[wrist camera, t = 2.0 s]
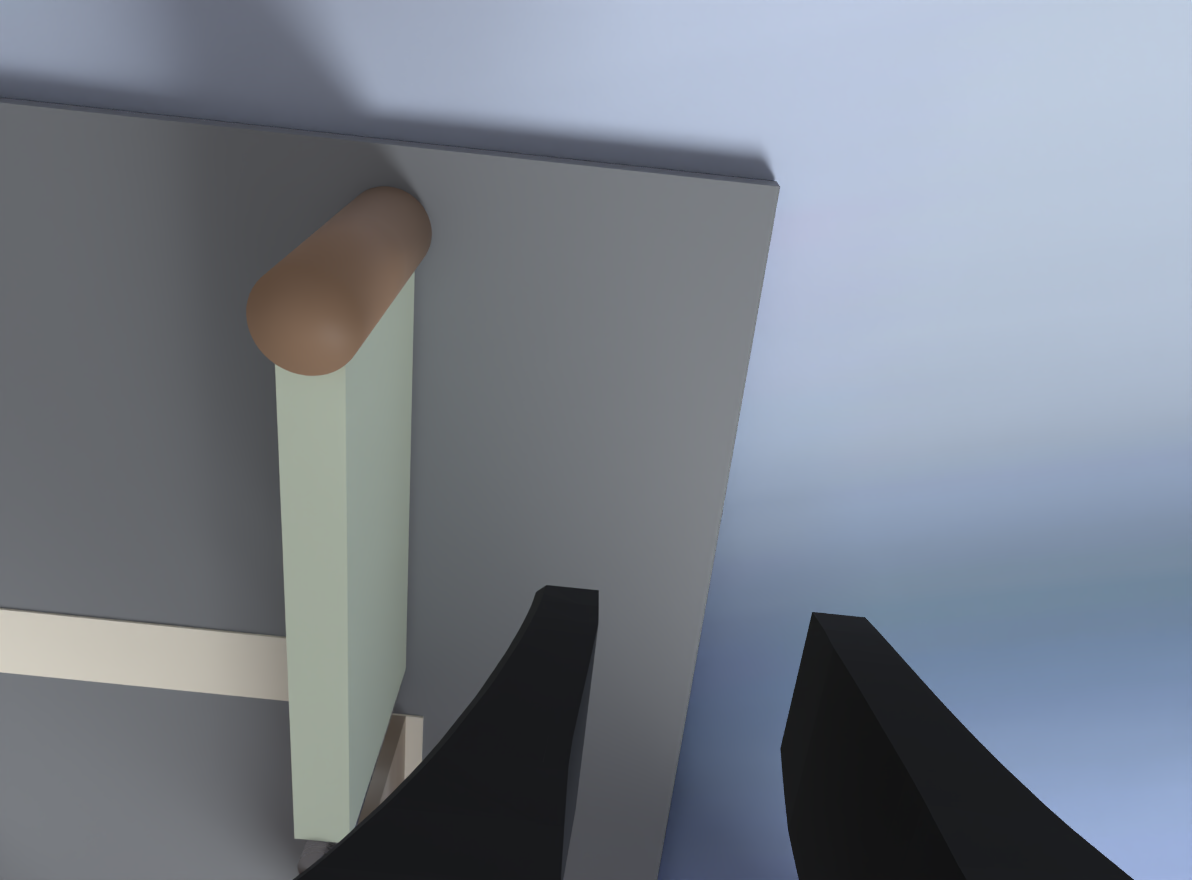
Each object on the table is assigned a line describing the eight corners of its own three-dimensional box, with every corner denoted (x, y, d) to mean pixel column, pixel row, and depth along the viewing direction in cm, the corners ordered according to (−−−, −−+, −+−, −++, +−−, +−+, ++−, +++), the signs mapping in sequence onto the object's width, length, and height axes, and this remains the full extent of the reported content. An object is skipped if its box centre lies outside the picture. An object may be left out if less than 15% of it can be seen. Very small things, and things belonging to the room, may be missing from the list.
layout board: (776, 181, 18) (780, 187, 18) (636, 977, 28) (636, 996, 27) (-262, 69, 18) (-287, 72, 18) (-48, 911, 28) (-61, 929, 27)
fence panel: (417, 701, 23) (363, 889, 18) (348, 694, 23) (276, 881, 18) (432, 191, 18) (363, 270, 13) (344, 181, 18) (243, 257, 13)
